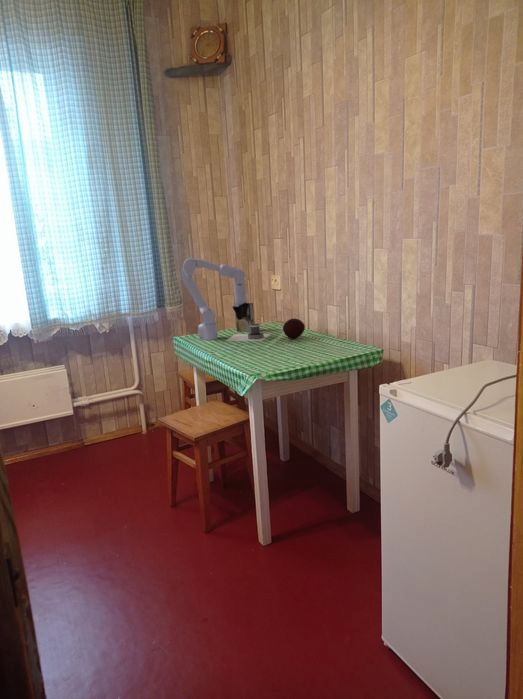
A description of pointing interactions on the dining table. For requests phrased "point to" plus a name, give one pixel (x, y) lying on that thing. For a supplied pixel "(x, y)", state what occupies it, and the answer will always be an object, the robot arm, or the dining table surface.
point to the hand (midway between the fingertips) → (242, 318)
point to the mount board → (244, 338)
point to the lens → (255, 329)
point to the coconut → (293, 328)
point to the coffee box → (246, 320)
